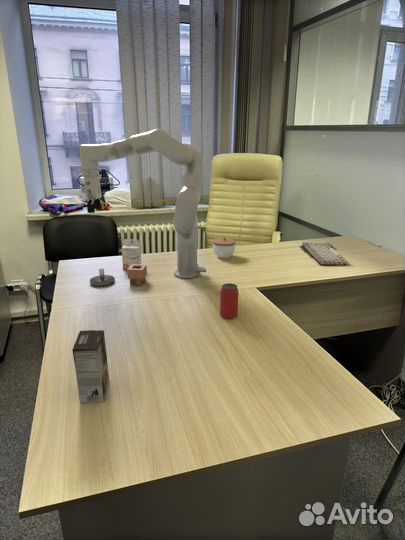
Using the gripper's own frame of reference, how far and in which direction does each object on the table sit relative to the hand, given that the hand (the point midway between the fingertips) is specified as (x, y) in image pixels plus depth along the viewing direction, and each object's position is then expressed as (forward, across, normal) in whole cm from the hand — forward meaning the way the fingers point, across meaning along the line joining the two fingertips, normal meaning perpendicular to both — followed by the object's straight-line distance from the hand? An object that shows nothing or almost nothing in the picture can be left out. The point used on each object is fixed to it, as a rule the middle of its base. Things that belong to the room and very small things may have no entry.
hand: (94, 210), depth 173 cm
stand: (+30, -14, -21) cm, 40 cm away
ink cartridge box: (+31, +4, -15) cm, 34 cm away
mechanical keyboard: (+31, +30, -119) cm, 126 cm away
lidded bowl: (+31, +25, -62) cm, 74 cm away
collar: (+27, -14, -21) cm, 37 cm away
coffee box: (+31, -91, -24) cm, 99 cm away
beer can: (+31, -46, -61) cm, 83 cm away
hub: (+30, -15, -5) cm, 34 cm away
